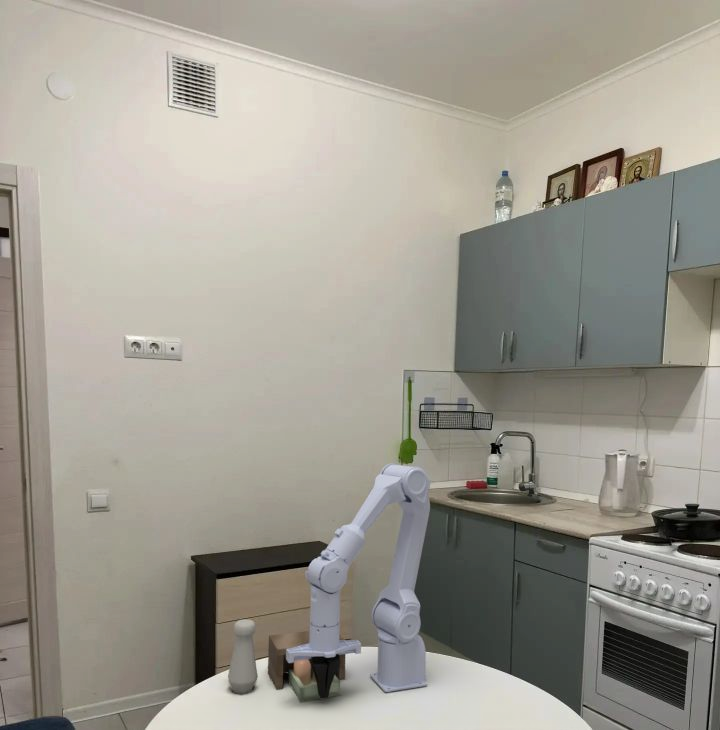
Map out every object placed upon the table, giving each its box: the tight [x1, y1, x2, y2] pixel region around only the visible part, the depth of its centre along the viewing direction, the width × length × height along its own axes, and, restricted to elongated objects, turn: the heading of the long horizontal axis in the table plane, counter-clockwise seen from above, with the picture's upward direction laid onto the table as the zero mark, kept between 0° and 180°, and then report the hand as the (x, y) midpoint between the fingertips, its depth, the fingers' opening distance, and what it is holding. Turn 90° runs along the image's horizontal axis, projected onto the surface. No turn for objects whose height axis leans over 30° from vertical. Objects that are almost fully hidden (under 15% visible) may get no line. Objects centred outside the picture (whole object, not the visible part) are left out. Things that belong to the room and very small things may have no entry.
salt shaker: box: [227, 618, 258, 695], centre depth 120 cm, size 6×6×13 cm
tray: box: [287, 659, 341, 702], centre depth 120 cm, size 8×9×5 cm
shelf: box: [267, 630, 346, 691], centre depth 126 cm, size 14×8×8 cm, turn 111°
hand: (323, 696), depth 115 cm, fingers closed, pressing on tray
